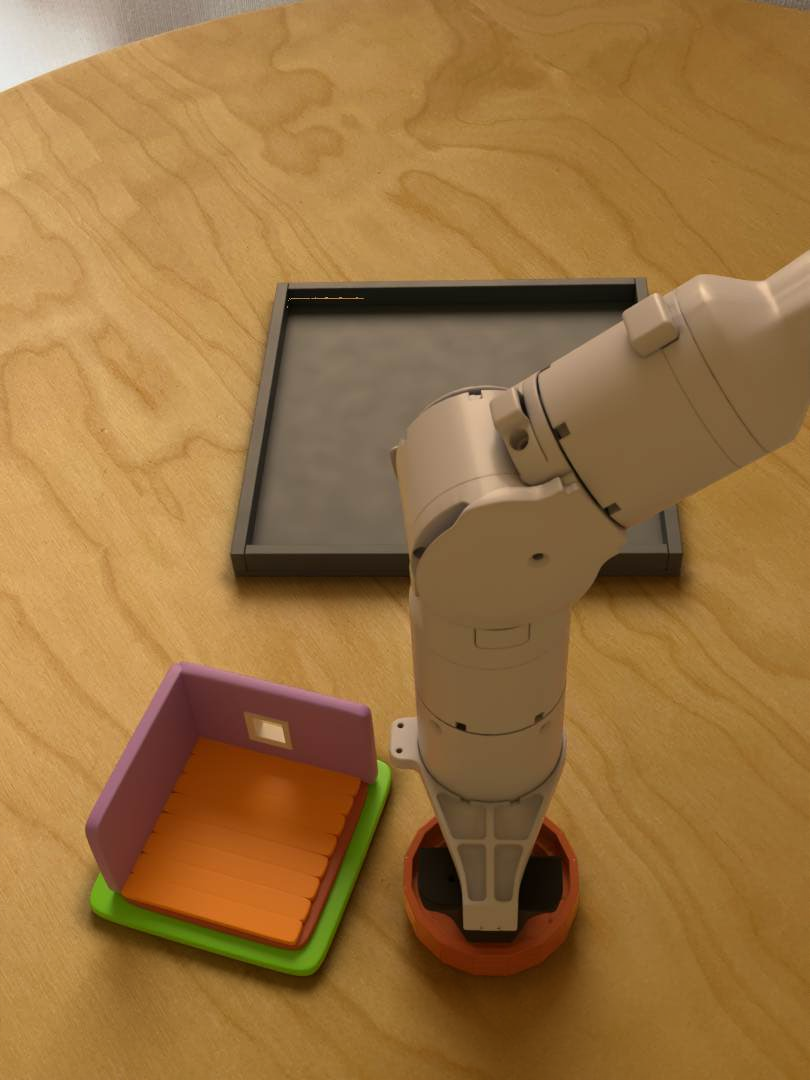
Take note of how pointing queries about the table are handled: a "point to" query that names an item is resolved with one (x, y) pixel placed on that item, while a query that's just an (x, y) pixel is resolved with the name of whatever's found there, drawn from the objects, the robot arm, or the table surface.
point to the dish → (493, 957)
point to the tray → (398, 410)
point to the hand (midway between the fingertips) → (489, 855)
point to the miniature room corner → (239, 818)
